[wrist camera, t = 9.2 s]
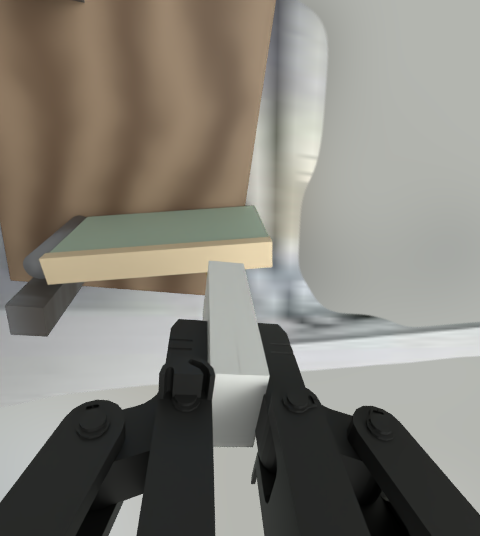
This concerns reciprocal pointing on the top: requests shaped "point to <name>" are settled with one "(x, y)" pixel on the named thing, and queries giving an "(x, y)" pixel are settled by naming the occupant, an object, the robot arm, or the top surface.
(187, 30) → the gate frame
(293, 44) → the top surface
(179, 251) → the bar
